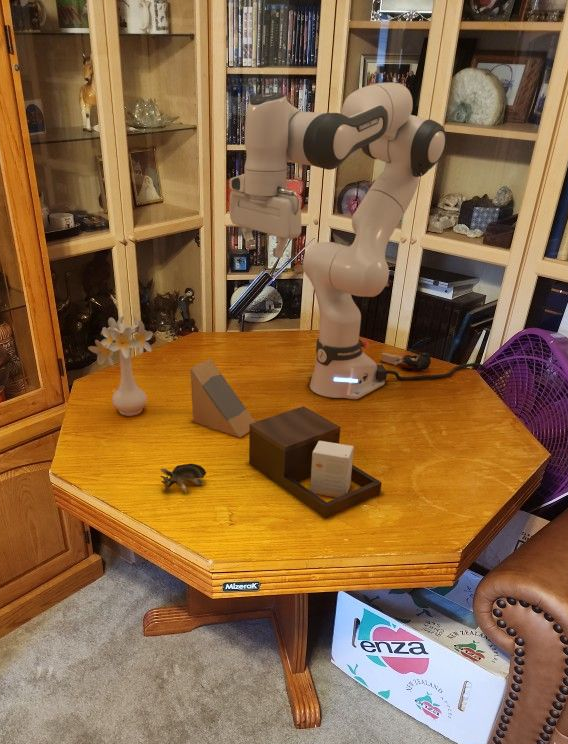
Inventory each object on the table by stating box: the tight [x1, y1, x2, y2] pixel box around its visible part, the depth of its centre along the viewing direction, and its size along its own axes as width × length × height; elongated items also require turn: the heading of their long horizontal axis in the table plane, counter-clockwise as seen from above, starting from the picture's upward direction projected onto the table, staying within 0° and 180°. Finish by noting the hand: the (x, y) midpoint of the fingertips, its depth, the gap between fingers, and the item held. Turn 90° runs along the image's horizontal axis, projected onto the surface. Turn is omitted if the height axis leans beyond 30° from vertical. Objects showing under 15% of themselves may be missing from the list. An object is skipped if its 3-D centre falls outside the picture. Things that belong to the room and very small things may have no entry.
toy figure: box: [381, 347, 432, 372], centre depth 203 cm, size 7×6×15 cm
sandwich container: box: [189, 358, 256, 438], centre depth 168 cm, size 9×15×15 cm, turn 55°
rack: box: [248, 405, 383, 519], centre depth 148 cm, size 16×27×10 cm, turn 36°
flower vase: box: [87, 313, 154, 417], centre depth 171 cm, size 13×18×25 cm
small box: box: [309, 441, 355, 499], centre depth 144 cm, size 8×6×10 cm
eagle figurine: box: [159, 463, 207, 494], centre depth 145 cm, size 8×7×9 cm
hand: (263, 252), depth 146 cm, fingers open, 8 cm apart
